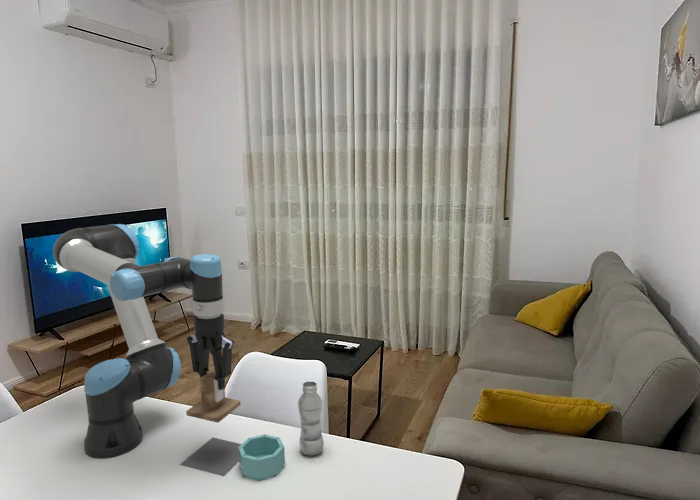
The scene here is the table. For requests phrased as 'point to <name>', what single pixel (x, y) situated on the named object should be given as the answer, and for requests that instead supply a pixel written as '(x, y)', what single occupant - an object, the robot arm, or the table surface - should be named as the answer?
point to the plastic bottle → (310, 420)
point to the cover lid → (212, 402)
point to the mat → (214, 457)
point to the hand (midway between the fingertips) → (213, 398)
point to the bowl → (261, 457)
